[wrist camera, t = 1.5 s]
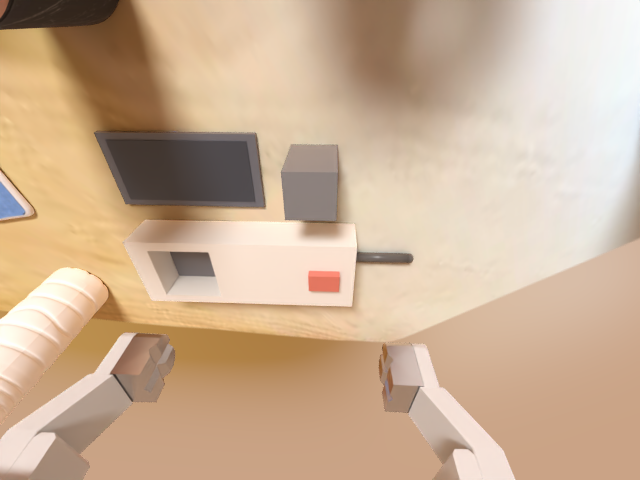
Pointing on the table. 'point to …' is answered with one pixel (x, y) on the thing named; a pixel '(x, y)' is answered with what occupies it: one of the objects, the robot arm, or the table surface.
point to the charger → (310, 182)
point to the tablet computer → (12, 201)
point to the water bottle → (44, 330)
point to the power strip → (249, 261)
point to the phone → (185, 167)
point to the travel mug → (53, 13)
